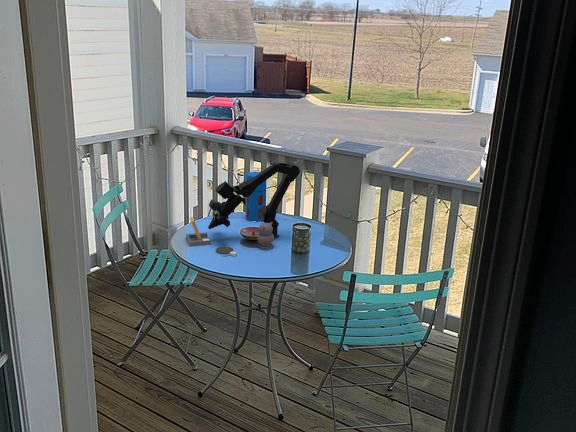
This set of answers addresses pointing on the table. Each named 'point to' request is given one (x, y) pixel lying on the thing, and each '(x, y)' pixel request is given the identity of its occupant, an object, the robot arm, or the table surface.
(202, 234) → the breaker housing
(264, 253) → the table surface
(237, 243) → the table surface
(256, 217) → the thermos
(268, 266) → the table surface
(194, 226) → the block
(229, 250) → the ping pong paddle
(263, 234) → the cat figurine
